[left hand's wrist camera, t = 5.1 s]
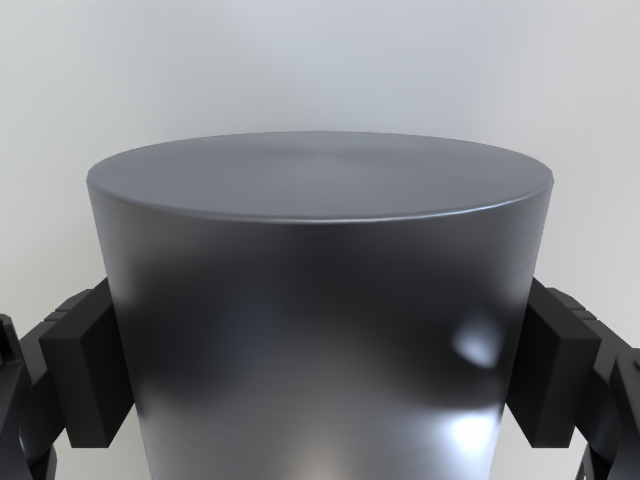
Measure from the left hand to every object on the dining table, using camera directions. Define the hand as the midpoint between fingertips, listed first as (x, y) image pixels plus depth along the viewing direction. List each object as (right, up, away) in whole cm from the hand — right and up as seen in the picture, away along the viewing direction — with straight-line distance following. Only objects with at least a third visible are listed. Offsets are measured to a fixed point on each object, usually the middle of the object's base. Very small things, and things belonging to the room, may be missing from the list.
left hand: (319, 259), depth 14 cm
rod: (0, -7, +3) cm, 8 cm away
